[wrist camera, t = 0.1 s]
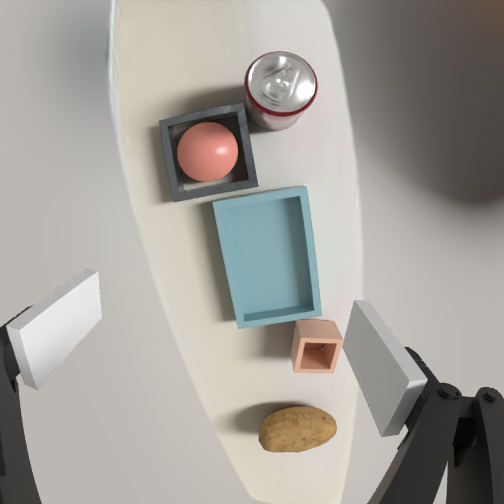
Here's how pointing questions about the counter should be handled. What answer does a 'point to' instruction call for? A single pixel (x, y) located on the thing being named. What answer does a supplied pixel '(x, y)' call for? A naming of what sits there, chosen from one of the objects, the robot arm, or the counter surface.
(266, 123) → the soda can
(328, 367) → the cup
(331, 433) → the potato
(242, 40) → the counter surface
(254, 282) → the trough
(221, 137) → the salmon round part
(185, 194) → the cradle
